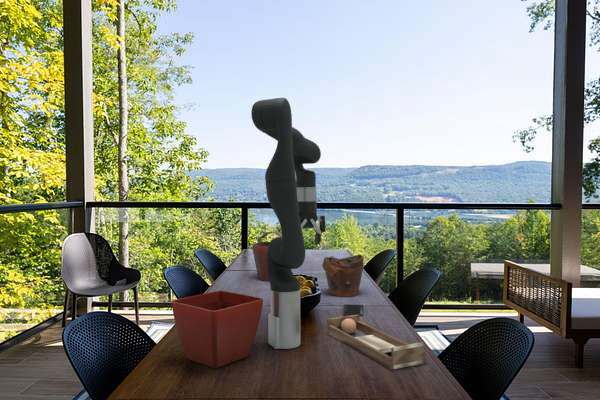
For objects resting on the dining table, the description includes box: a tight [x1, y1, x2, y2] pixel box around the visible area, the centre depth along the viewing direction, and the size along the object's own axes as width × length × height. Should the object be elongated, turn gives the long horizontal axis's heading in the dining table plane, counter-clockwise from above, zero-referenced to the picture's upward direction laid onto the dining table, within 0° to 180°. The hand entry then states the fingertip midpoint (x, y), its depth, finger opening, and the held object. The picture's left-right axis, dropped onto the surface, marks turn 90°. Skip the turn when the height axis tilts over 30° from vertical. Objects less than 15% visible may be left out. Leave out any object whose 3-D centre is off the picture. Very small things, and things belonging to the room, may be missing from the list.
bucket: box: [252, 230, 282, 282], centre depth 255 cm, size 24×22×25 cm
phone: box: [342, 303, 364, 318], centre depth 189 cm, size 8×1×15 cm
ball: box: [341, 318, 356, 334], centre depth 159 cm, size 5×5×5 cm
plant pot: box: [171, 290, 264, 369], centre depth 137 cm, size 19×19×17 cm
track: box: [326, 315, 427, 371], centre depth 146 cm, size 12×35×6 cm, turn 25°
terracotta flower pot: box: [322, 254, 365, 298], centre depth 219 cm, size 18×20×18 cm
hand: (306, 245), depth 172 cm, fingers open, 8 cm apart
